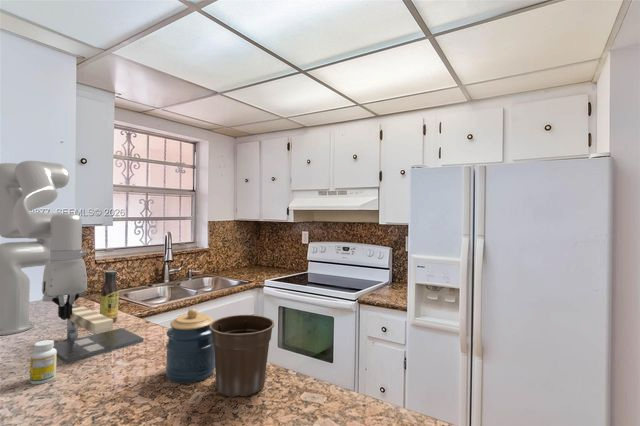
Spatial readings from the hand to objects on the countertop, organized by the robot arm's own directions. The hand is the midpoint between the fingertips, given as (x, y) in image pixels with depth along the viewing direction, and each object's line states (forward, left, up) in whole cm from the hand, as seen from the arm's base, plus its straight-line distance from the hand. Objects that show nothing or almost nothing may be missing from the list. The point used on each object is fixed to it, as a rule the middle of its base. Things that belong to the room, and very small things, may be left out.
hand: (65, 318), depth 101 cm
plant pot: (+51, +22, -13) cm, 58 cm away
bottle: (-28, +23, -12) cm, 38 cm away
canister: (+35, +18, -13) cm, 42 cm away
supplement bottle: (+9, -8, -13) cm, 17 cm away
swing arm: (-5, +7, -4) cm, 10 cm away
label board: (-7, +10, -12) cm, 18 cm away
